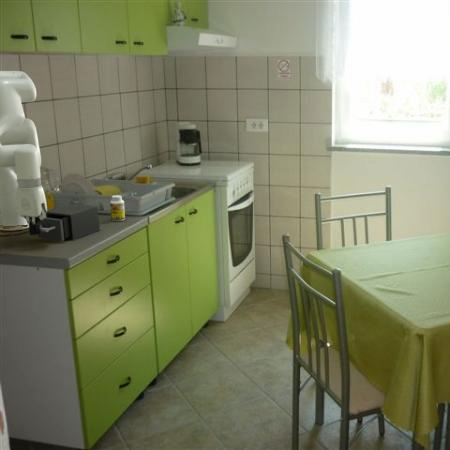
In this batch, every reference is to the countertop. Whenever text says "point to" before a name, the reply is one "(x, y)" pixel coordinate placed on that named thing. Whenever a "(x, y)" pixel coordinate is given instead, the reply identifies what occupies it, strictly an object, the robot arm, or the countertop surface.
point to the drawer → (55, 227)
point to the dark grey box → (79, 219)
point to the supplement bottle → (117, 208)
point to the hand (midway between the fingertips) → (35, 234)
